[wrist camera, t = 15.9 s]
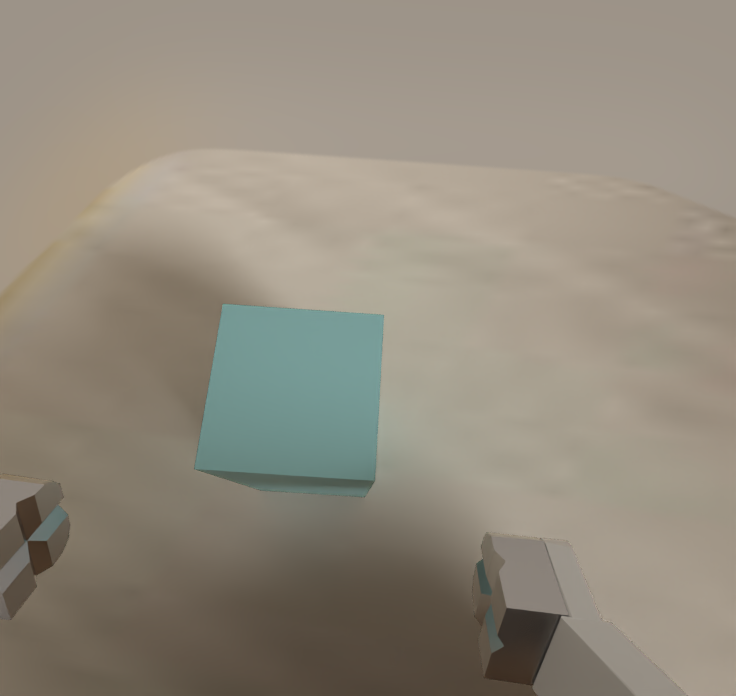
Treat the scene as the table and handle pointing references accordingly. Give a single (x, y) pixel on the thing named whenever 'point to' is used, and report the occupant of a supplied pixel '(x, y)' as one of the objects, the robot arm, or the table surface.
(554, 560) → the robot arm
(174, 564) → the table surface
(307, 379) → the teal rectangular block
